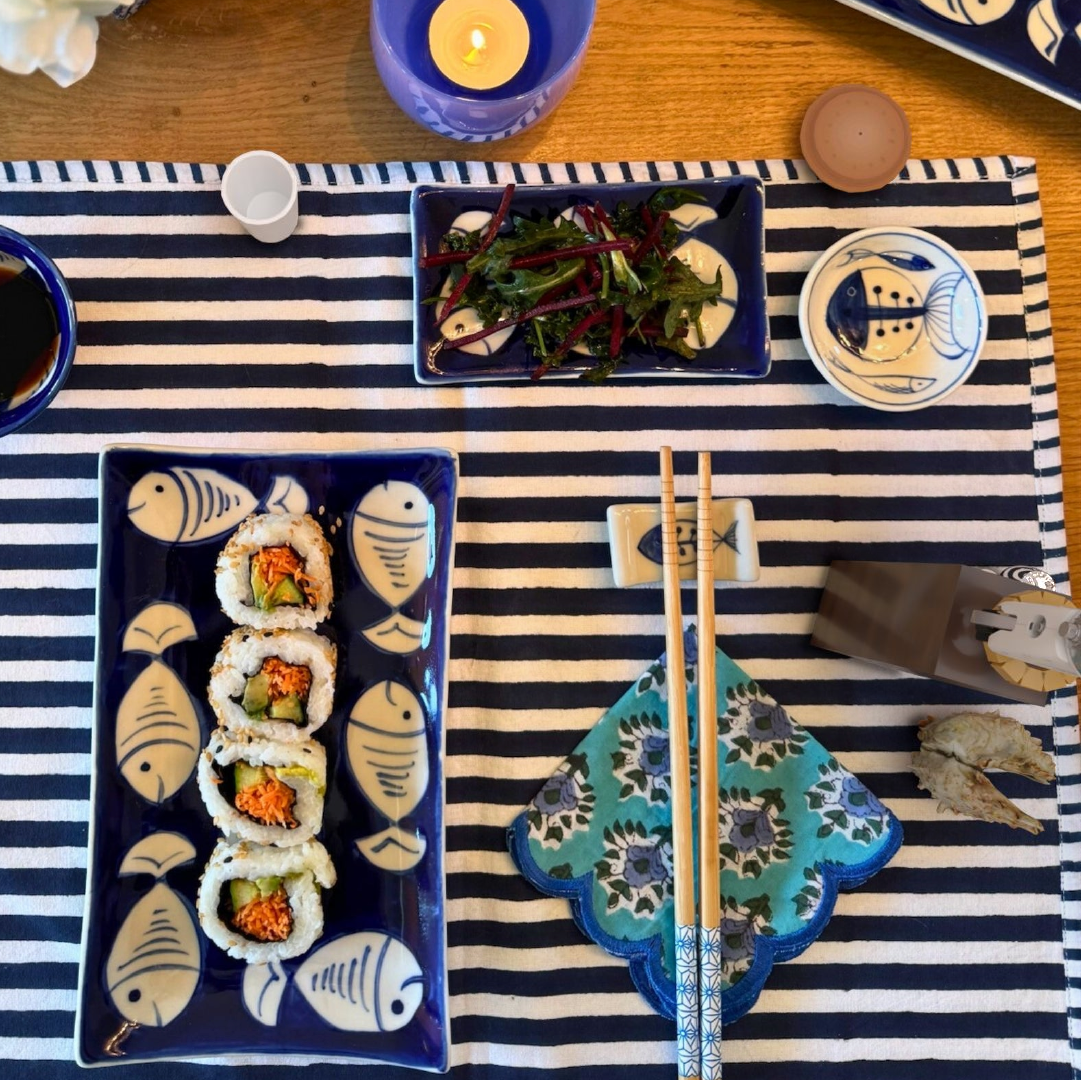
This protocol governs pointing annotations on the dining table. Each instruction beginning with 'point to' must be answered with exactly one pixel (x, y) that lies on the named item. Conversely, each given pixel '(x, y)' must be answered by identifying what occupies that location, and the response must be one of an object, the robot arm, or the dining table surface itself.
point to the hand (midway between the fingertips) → (997, 629)
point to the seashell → (978, 764)
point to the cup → (262, 195)
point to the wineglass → (1028, 576)
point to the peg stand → (918, 621)
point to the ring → (1018, 669)
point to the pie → (855, 138)
